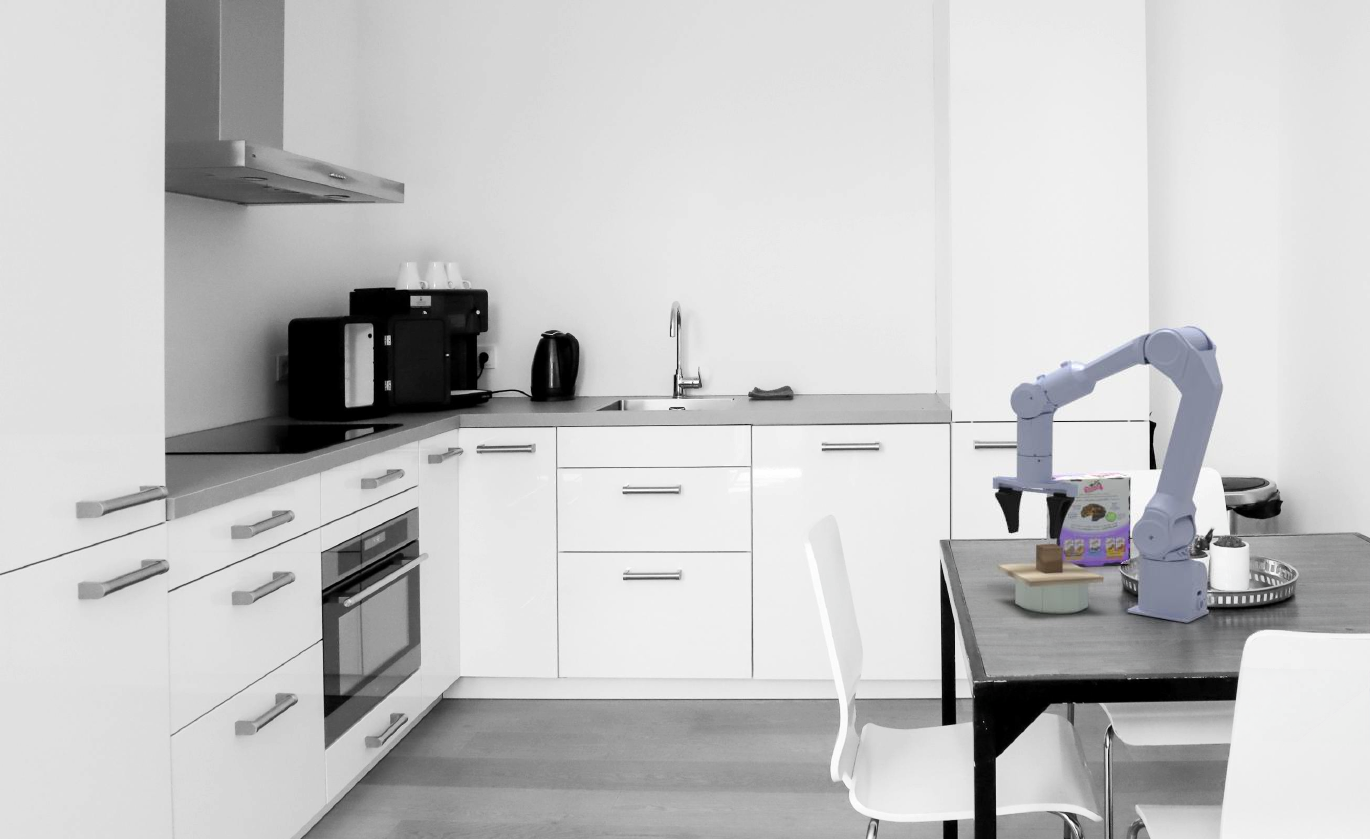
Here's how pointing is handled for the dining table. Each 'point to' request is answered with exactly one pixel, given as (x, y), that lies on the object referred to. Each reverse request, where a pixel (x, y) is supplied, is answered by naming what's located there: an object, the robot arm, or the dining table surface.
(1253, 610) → the dining table surface
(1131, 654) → the dining table surface
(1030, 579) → the birch lid
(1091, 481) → the candy box
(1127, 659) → the dining table surface
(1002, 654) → the dining table surface
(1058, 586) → the celadon bowl
